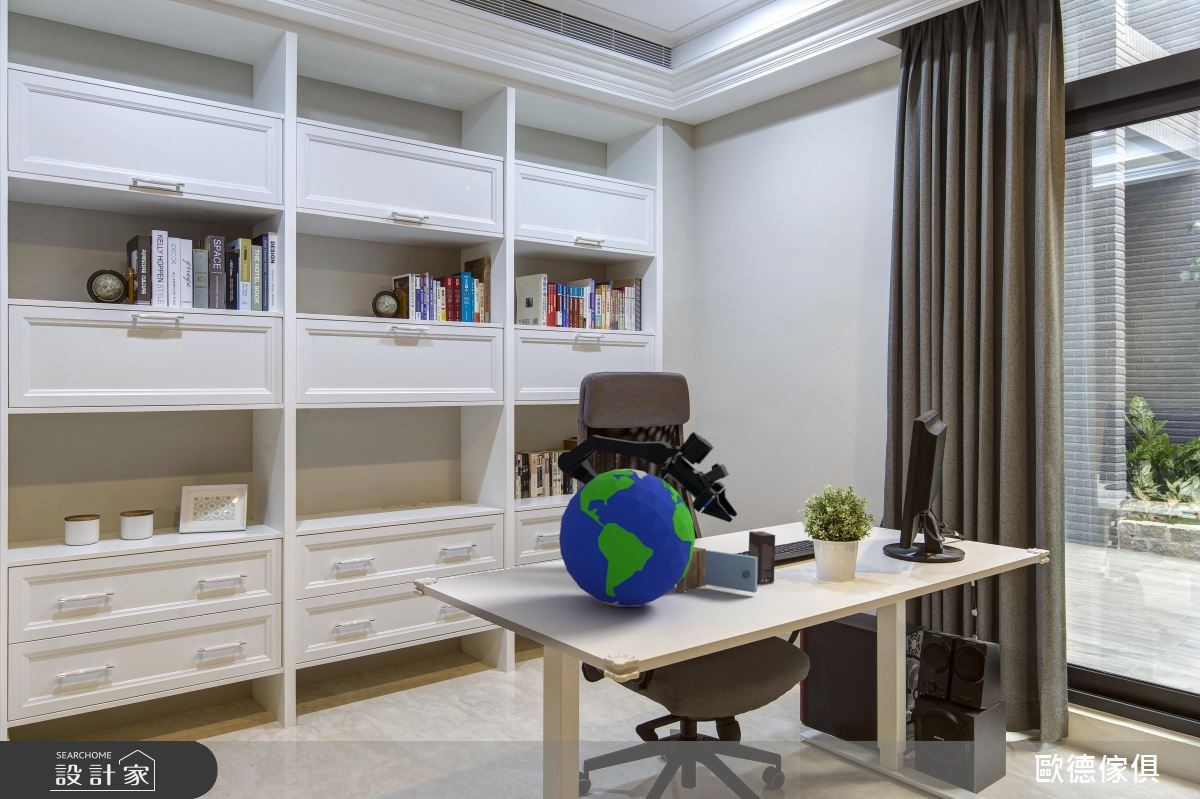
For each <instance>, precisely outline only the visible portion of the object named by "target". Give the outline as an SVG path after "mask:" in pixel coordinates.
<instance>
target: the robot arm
mask: <svg viewBox="0 0 1200 799" xmlns="http://www.w3.org/2000/svg"><path fill="white" fill-rule="evenodd" d="M713 449H714V446H713V445H712V444H711V443H710V442H709V441H708V440H707V439H706V438H703V437H702V436H701V435H699V434H697V433H696V432H695V431H693V432H691V433H690V434H689V436H688V437H687V439H686V440H685V442H683V444H682V445H681V446H680V445H676V446H675V445H671V444H670V443H669V442H667V441H661V440H660V441H641V442H639V441H633V440H626V439H620V438H613V437H606V436H600V435H598V434H594V435H593V434H592V435H590V436H587V438H586V439H585V440H583V441H582V442H581V443H580V444H578V445H576V446H575V447H574V448H571V450H568V451H564V452H562V453H560V454H559V456H558V457H557V468H558V469H559V470H560V471H561V472H562V473H564V474H565V475H567V476H569V477H570V478H571V479H574V480H576V481H578V482H581V483H582V484H583V486H584V485H585V484H587V483H588V482H590V481H591V480H592V479H594V478H595V477H596V476H598V475H599V474H597V473H596V472H595V471H594V469H593V467H592V465H591V464H590V462H589V461H588V459H589V458H590V457H591V456H593V455H594V454H595V453H596V452H597V451H599V452H605V453H612V454H616V455H617V454H618V455H624V456H629V457H636V458H639V459H641V460H643V461H645V462H649V463H650V464H654V465H656V466H657V465H663V464H665V463H668V462H669V463H668V464H667V465H666V466H665V467H660V470H659V471H660V479H662V480H664V479H666V478H667V477H668V476H669V477H671V478H672V479H673V480H674V481H675V482H676V483H678V484H679V486H681V487H682V491H684V492H687V493H688V494H690V495H691V496H692V497H693V498H694V501H692V508H693V509H694V510H695V511H696V512H698V513H701V514H704V515H707V516H709V517H714V518H716V519H718V520H721V521H724V522H728V523H731V522H732V521H733V518H732V517H734V518H736V517H737V515H738V513H737V511H736V510H735V508H734V507H733V505H732V503H730V501H729V499H728V498H727V495H726V494H727V493H726V490H727V489H726V487H725V485H724V484H723V483H722V482H721V481H718V480H721V479H724V478H726V477H728V476H729V475H730V474H729V472H728V470H727V467H726V466H725V465H724V463H723V464H722V463H721V464H719V463H718V462H716V463H715V464H713V465H711V470H710V471H708V472H706V473H704V472H703V471H702V470H699V471H698V470H697V469H696V468H694V467H693V466H692V465H694V466H695V464H697V465H700V464H701V463H702V462H703V461H704V460H705V459H706V458H707V456H708V455H710V453H711V451H713ZM678 456H679V457H678ZM675 457H678V458H676V460H672V458H675ZM691 464H692V465H691Z"/></svg>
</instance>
